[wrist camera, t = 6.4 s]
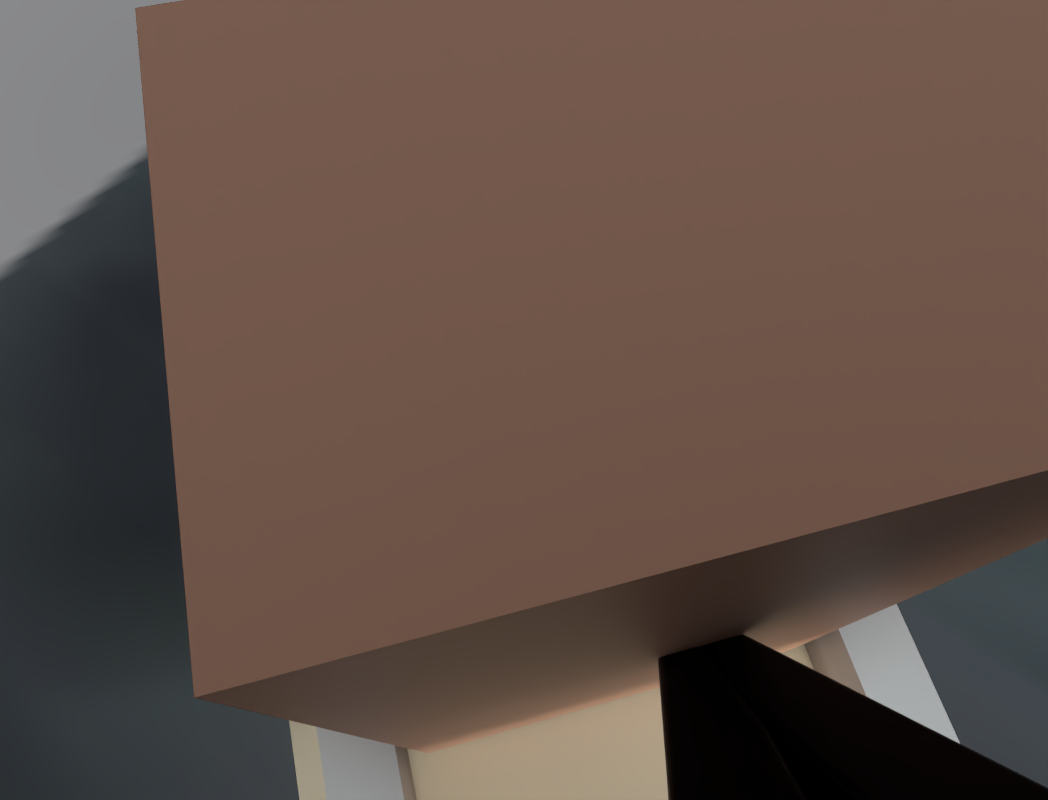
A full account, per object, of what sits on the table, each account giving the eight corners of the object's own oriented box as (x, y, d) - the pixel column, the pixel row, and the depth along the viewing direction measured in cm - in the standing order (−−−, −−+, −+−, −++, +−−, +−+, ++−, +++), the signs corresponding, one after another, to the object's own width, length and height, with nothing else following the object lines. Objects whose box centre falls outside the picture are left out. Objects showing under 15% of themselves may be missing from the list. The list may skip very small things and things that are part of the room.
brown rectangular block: (789, 649, 13) (1446, 363, 4) (427, 753, 12) (192, 698, 3) (704, 430, 15) (1027, -133, 6) (380, 509, 14) (135, 8, 5)
